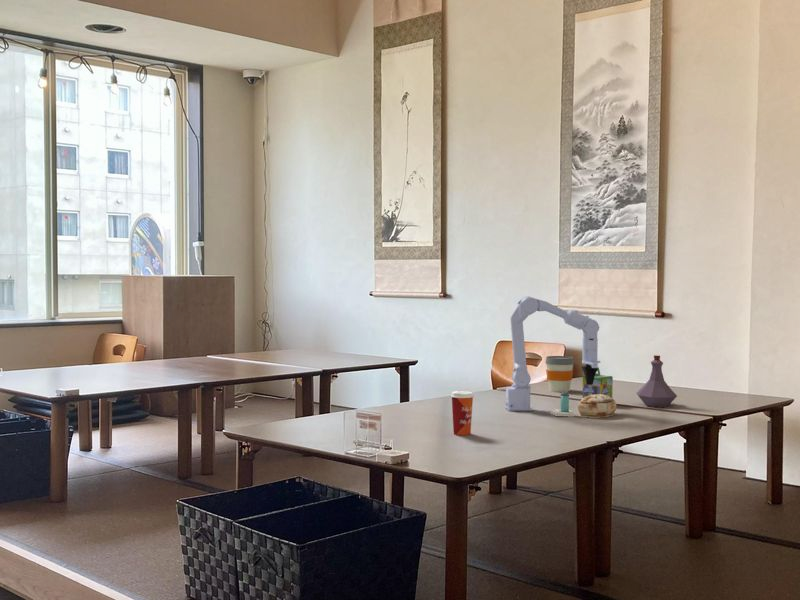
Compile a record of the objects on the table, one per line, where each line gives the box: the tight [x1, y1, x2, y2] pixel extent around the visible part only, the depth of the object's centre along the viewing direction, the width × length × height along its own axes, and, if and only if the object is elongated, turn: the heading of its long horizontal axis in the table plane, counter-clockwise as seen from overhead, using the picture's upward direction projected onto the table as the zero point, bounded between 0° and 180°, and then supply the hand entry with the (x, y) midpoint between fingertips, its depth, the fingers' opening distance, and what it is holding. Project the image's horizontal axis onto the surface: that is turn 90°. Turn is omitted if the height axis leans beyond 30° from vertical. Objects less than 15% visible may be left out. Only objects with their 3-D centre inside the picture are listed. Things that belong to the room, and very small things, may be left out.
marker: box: [560, 392, 570, 412], centre depth 346 cm, size 3×3×7 cm
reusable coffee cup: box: [545, 355, 575, 393], centre depth 410 cm, size 13×13×15 cm
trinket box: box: [577, 394, 617, 419], centre depth 345 cm, size 13×15×8 cm
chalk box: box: [582, 367, 614, 399], centre depth 372 cm, size 9×9×15 cm
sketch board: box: [549, 409, 575, 417], centre depth 345 cm, size 7×8×1 cm
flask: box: [635, 354, 678, 407], centre depth 369 cm, size 16×16×20 cm
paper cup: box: [450, 390, 474, 436], centre depth 306 cm, size 8×8×14 cm
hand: (589, 384), depth 357 cm, fingers closed
